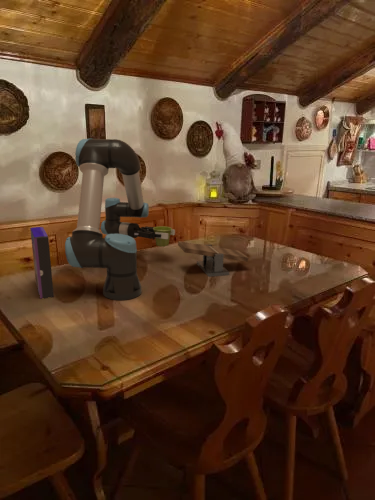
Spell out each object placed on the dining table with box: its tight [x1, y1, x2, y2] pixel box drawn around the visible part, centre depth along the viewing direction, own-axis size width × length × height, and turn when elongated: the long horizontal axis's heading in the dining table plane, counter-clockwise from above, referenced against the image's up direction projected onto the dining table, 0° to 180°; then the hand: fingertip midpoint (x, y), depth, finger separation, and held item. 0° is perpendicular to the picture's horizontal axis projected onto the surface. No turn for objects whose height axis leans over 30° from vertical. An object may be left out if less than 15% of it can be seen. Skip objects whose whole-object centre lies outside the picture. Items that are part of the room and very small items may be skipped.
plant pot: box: [153, 225, 173, 248], centre depth 178 cm, size 9×9×9 cm
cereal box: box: [29, 226, 54, 300], centre depth 141 cm, size 17×5×24 cm, turn 27°
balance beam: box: [177, 240, 249, 262], centre depth 170 cm, size 32×12×2 cm, turn 107°
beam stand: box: [196, 244, 230, 278], centre depth 171 cm, size 18×10×10 cm, turn 17°
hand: (171, 234), depth 176 cm, fingers closed on plant pot, 8 cm apart
